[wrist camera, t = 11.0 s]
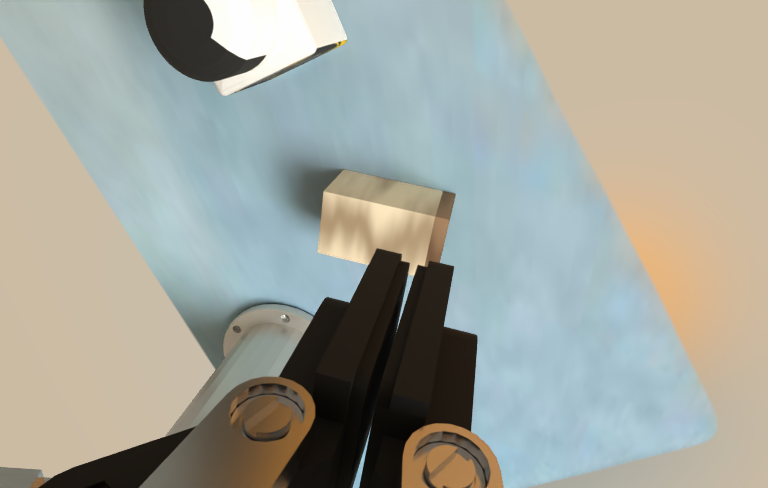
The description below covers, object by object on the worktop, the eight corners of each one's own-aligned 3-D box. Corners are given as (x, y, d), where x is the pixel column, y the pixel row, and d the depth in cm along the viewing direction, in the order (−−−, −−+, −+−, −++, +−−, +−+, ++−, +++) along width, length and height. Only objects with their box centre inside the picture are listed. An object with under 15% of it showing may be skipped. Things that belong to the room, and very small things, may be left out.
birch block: (435, 280, 36) (317, 252, 37) (442, 250, 40) (337, 225, 41) (449, 219, 34) (323, 191, 35) (455, 193, 38) (343, 169, 39)
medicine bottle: (267, 81, 37) (174, 115, 27) (219, -17, 35) (96, -22, 24) (350, 41, 35) (283, 61, 24) (304, -68, 32) (208, -98, 22)
